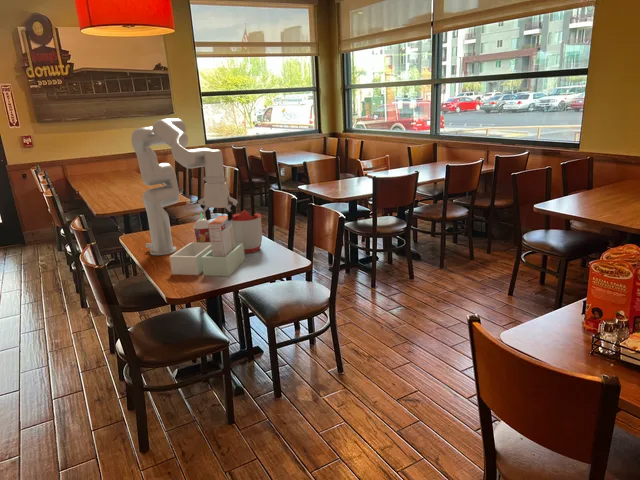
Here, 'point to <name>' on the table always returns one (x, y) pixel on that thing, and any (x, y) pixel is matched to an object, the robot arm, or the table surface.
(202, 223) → the smoothie
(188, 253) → the white open tray
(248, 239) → the citrus juicer
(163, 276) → the table surface
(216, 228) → the cracker box
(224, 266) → the bin
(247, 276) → the table surface
